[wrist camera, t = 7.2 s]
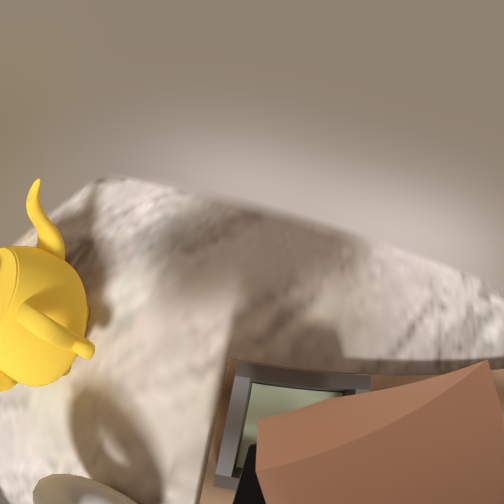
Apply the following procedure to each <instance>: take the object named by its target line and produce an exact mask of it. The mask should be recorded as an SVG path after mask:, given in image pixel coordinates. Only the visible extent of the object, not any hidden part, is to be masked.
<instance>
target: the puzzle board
mask: <svg viewBox="0 0 504 504" xmlns="http://www.w3.org/2000/svg"><path fill="white" fill-rule="evenodd" d="M491 371H492V375H493V378H494V382H495V386H496V390H497V394H498V398H499V402H500V407H501V411H502V416H503V422H504V369H497V370H491ZM440 375H444V374H435V375H374V374H353V373H338V372H325V371H315V370H305V369H296V368H288V367H281V366H273V365H266V364H260V363H254V362H248V361H242V360H236V359H231V358H229V359H228V364H227V369H226V374H225V379H224V384H223V389H222V394H221V399H220V404H219V408H218V413H217V418H216V423H215V428H214V433H213V438H212V443H211V448H210V453H209V458H208V463H207V468H206V472H205V477H204V482H203V487H202V492H201V497H200V502H199V504H232V503H233V500H234V497H235V493H236V490H237V486H238V483H239V479H240V475H241V472H242V468H243V464H244V461H245V457H246V453H247V449H248V446H249V445H250V444H254V443H257V428H258V420H259V419H263V418H267V417H271V416H274V415H278V414H282V413H285V412H288V411H292V410H295V409H298V408H302V407H305V406H308V405H311V404H314V403H317V402H320V401H323V400H325V399H328V398H335V397H342V396H349V395H356V394H362V393H368V392H373V391H378V390H384V389H388V388H393V387H398V386H402V385H406V384H411V383H415V382H419V381H422V380H426V379H430V378H433V377H437V376H440Z"/></svg>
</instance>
